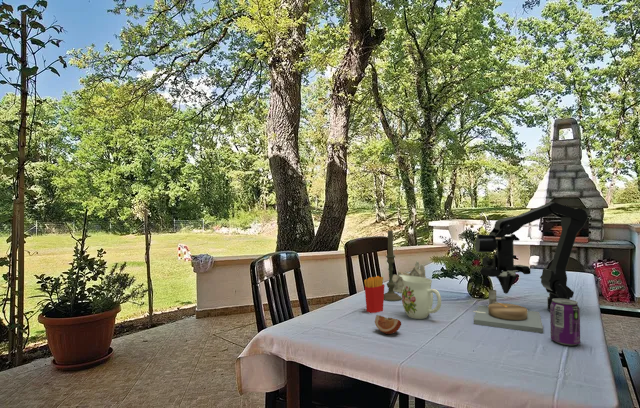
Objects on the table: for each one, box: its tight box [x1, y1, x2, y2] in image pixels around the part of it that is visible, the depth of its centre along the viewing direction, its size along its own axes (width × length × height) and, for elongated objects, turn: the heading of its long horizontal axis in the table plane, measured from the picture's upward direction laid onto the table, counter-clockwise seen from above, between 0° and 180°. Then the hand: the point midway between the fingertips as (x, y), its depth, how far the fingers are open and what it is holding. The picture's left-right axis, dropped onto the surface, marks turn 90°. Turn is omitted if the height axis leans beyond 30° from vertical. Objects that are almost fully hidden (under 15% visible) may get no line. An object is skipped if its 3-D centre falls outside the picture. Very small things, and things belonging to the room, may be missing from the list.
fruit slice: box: [374, 314, 402, 335], centre depth 114 cm, size 8×7×5 cm
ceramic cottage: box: [392, 261, 427, 294], centre depth 172 cm, size 16×16×15 cm
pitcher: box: [399, 275, 442, 320], centre depth 130 cm, size 11×18×14 cm, turn 36°
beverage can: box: [549, 298, 581, 347], centre depth 104 cm, size 7×7×12 cm
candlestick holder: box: [384, 229, 402, 302], centre depth 157 cm, size 9×9×30 cm
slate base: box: [472, 305, 544, 334], centre depth 126 cm, size 21×20×2 cm
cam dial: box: [487, 289, 528, 320], centre depth 128 cm, size 17×12×6 cm
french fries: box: [363, 275, 385, 314], centre depth 138 cm, size 9×4×13 cm, turn 127°
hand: (505, 293), depth 137 cm, fingers closed
